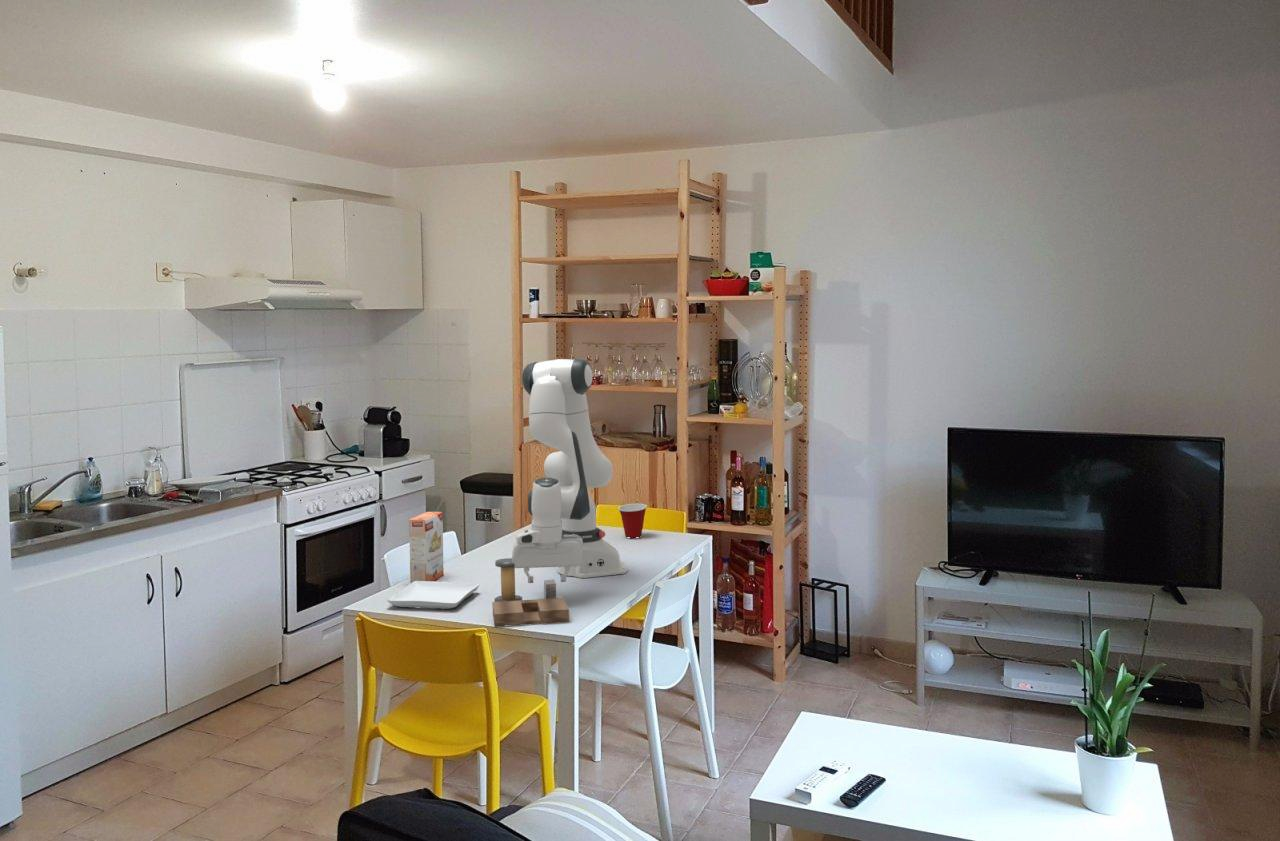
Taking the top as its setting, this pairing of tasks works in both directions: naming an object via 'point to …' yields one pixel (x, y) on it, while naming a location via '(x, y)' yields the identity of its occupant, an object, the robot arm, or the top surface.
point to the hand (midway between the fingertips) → (546, 582)
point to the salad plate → (433, 594)
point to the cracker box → (426, 546)
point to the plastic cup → (633, 519)
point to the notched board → (530, 611)
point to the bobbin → (507, 581)
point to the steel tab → (549, 589)
